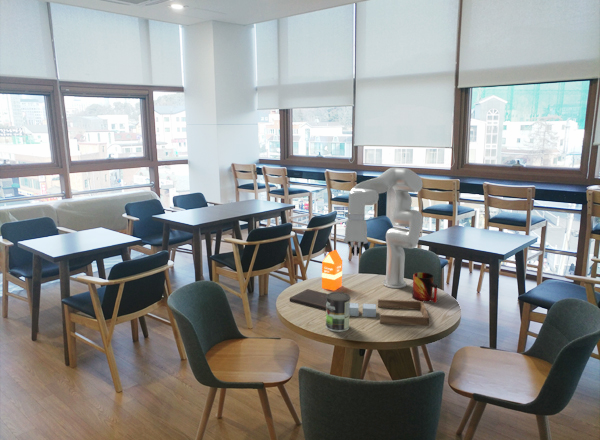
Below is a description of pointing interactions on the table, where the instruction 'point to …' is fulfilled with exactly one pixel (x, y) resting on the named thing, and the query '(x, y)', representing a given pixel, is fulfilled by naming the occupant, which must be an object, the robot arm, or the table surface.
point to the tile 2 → (369, 310)
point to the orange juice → (332, 271)
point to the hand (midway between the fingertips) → (355, 254)
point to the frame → (404, 319)
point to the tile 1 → (354, 309)
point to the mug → (424, 287)
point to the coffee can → (337, 311)
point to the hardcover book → (310, 299)
